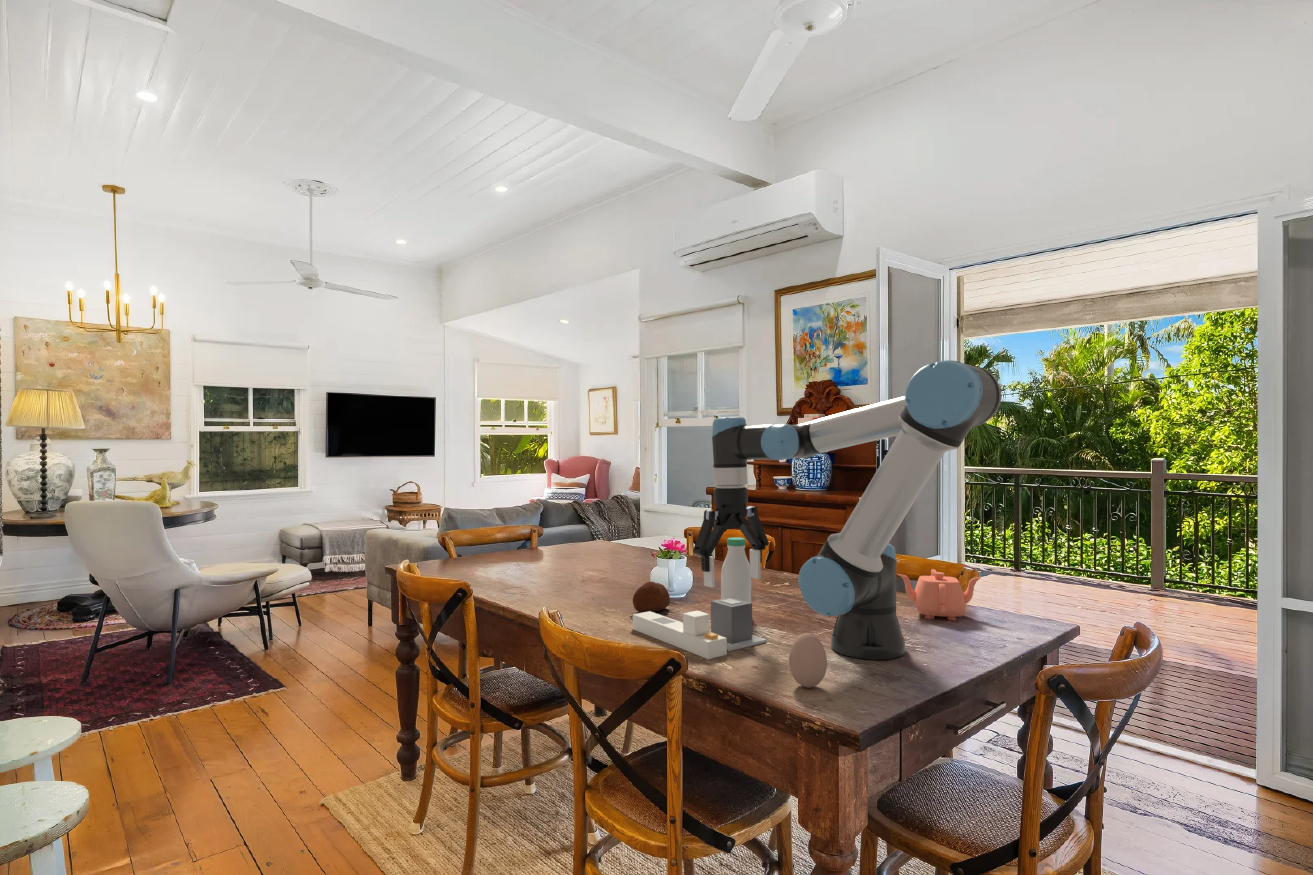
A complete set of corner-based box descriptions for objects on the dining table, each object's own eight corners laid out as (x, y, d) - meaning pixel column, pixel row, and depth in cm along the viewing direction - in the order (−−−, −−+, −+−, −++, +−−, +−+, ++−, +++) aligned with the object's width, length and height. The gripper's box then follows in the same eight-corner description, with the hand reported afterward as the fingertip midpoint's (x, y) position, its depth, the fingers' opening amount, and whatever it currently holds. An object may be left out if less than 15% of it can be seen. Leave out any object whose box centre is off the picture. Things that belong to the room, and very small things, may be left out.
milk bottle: (751, 622, 173) (750, 540, 173) (719, 621, 175) (719, 540, 174) (753, 614, 181) (752, 536, 180) (722, 613, 182) (722, 535, 182)
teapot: (896, 614, 181) (896, 571, 181) (932, 606, 188) (932, 565, 188) (946, 626, 168) (946, 580, 168) (983, 618, 176) (982, 574, 176)
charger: (752, 639, 157) (752, 602, 157) (731, 643, 153) (731, 606, 153) (731, 632, 163) (731, 596, 163) (711, 636, 159) (710, 600, 159)
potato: (678, 610, 186) (678, 579, 186) (648, 618, 178) (647, 586, 178) (657, 605, 192) (657, 575, 192) (626, 613, 183) (626, 582, 183)
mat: (766, 642, 157) (766, 639, 157) (729, 651, 150) (729, 648, 150) (733, 631, 166) (733, 628, 166) (696, 639, 159) (696, 636, 159)
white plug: (709, 632, 152) (709, 614, 152) (694, 636, 149) (694, 617, 149) (697, 628, 155) (697, 610, 155) (683, 631, 153) (683, 613, 153)
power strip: (726, 654, 148) (726, 634, 148) (708, 659, 145) (708, 638, 145) (650, 625, 171) (649, 607, 171) (632, 629, 168) (632, 610, 168)
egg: (809, 696, 124) (809, 640, 124) (781, 685, 130) (780, 632, 130) (835, 688, 128) (834, 634, 128) (806, 677, 134) (806, 626, 134)
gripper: (759, 483, 168) (762, 573, 168) (675, 489, 154) (678, 587, 154) (782, 484, 162) (785, 577, 162) (697, 490, 148) (699, 592, 147)
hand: (733, 582), depth 158 cm, fingers open, 13 cm apart
